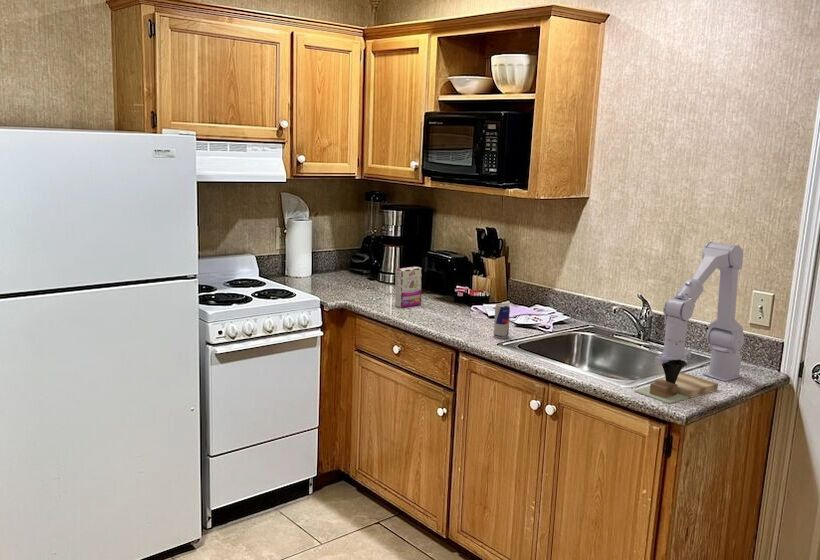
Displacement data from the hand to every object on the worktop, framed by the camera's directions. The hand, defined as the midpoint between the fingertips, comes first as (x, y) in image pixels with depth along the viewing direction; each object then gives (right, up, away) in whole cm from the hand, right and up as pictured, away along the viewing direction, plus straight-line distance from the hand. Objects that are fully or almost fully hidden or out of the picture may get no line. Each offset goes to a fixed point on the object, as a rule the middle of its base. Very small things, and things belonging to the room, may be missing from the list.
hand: (670, 384), depth 219 cm
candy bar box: (-78, +19, +101) cm, 129 cm away
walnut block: (-3, -3, -2) cm, 5 cm away
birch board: (+6, -2, +5) cm, 8 cm away
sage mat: (-3, -3, -2) cm, 5 cm away
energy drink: (-43, +9, +56) cm, 71 cm away
